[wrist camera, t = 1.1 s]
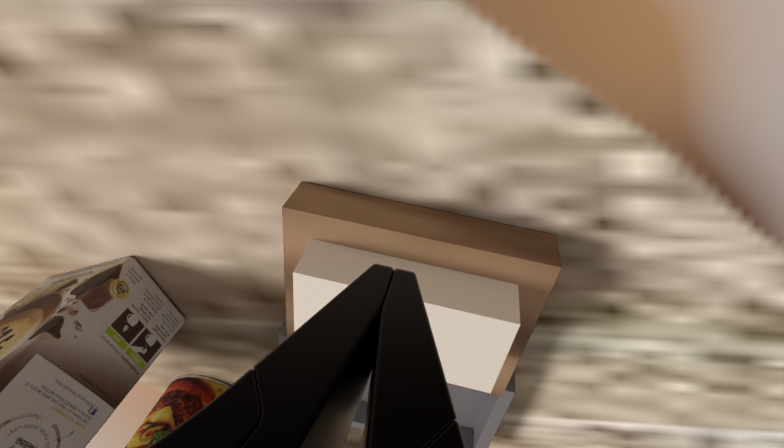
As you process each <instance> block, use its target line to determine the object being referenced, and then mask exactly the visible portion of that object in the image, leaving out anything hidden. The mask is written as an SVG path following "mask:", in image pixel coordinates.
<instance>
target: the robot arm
mask: <svg viewBox="0 0 784 448" xmlns="http://www.w3.org/2000/svg"><path fill="white" fill-rule="evenodd" d="M371 371H372V372H371ZM370 375H371V379H370V386H369V393H368V401H367V409H366V418H365V426H364V434H363V442H362V448H466V447H465V444H464V440H463V437H462V433H461V430H460V427H459V423H458V422H457V421H456V419H457V417H456V413H455V410H454V406H453V403H452V399H451V396H450V392H449V389H448V385H447V382H446V378H445V375H444V371H443V368H442V364H441V361H440V357H439V354H438V350H437V347H436V343H435V340H434V337H433V333H432V330H431V326H430V323H429V319H428V316H427V312H426V309H425V305H424V302H423V298H422V295H421V291H420V288H419V284H418V281H417V277H416V274H415V273H414V272H412V271H408V270H403V269H399V268H397V269H395V270H394V269H393V268H392V267H390V266H385V265H381V264H373V265H372V266H371V267H369V268H368V269H367V270H366V271H365V272H364V273H362V274H361V275H360V276H359V277H358V278H357V279H355V280H354V281H353V282H352V283H351V284H350V285H348V286H347V287H346V288H345V289H344V290H343V291H341V292H340V293H339V294H338V295H337V296H336V297H334V298H333V299H332V300H331V301H330V302H329V303H327V304H326V305H325V306H324V307H323V308H322V309H320V310H319V311H318V312H317V313H316V314H315V315H313V316H312V317H311V318H310V319H309V320H308V321H306V322H305V323H304V324H303V325H302V326H301V327H299V328H298V329H297V330H296V331H295V332H294V333H292V334H291V335H290V336H289V337H288V338H287V339H285V340H284V341H283V342H282V343H281V344H280V345H278V346H277V347H276V348H275V349H274V350H273V351H271V352H270V353H269V354H268V355H267V356H265V357H264V358H263V359H262V360H261V361H260V362H258V363H257V364H256V365H255V366H254V370H252V369H250V370H249V371H248V372H246V373H245V374H244V375H243V376H242V377H241V378H240V379H238V380H237V381H236V382H235V383H234V384H233V385H231V386H230V387H229V388H228V389H226V390H225V391H224V392H223V393H221V394H220V395H219V396H218V397H216V398H215V399H214V400H213V401H212V402H210V403H209V404H208V405H207V406H205V407H204V408H202V409H201V410H200V411H198V412H197V413H196V414H194V415H193V416H191V417H190V418H189V419H187V420H186V421H185V422H183V423H182V424H180V425H179V426H178V427H176V428H175V429H174V430H172V431H171V432H169V433H168V434H166V435H165V436H163V437H162V438H161V439H159V440H158V441H156V442H155V443H153V444H152V445H151V446H149V447H148V448H342V447H343V445H344V442H345V440H346V437H347V435H348V432H349V429H350V427H351V424H352V422H353V419H354V417H355V414H356V412H357V409H358V406H359V404H360V401H361V399H362V396H363V394H364V391H365V389H366V386H367V383H368V380H369V378H370Z"/></svg>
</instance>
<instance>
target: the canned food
mask: <svg viewBox="0 0 784 448" xmlns="http://www.w3.org/2000/svg"><path fill="white" fill-rule="evenodd" d="M229 387H230V386H228V385H226V384H225V383H223V382H220V381H218V380H215V379H212V378H209V377H204V376H200V375H185V376H180V377H178V378H176V379H174V380H173V381H172V382H171V384H170V385H169V387H168V388H167V389H166V391H165V392H164V394H163V395H162V397H161V398H160V399H159V401H158V402H157V403H156V405H155V406H154V408H153V409H152V411H151V412H150V413H149V415H148V416H147V418H146V419H145V420H144V422H143V424H142V425H141V426H140V427H139V429H138V430H137V432H136V433H135V434H134V436H133V437H132V439H131V440H130V442H129V443H128V444H127V446H126V447H125V448H148V447H149V446H151V445H152V444H153V443H155V442H156V441H158V440H159V439H161V438H162V437H163V436H165V435H166V434H168V433H169V432H171V431H172V430H174V429H175V428H176V427H178V426H179V425H180V424H182V423H183V422H185V421H186V420H187V419H189V418H190V417H191V416H193V415H194V414H196V413H197V412H198V411H200V410H201V409H202V408H204V407H205V406H207V405H208V404H209V403H210V402H212V401H213V400H214V399H215V398H216V397H218V396H219V395H220V394H221V393H223V392H224V391H225V390H226V389H228V388H229Z"/></svg>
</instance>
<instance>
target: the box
mask: <svg viewBox="0 0 784 448" xmlns="http://www.w3.org/2000/svg"><path fill="white" fill-rule="evenodd" d="M285 339H287V327H286V320H285V322H284V324H283V326H282V328H281V330H280V332H279V334H278V345H280V344H281V343H282V342H283V341H284V340H285ZM371 372H372V371H371ZM370 379H371V375H370V378H369V380H368V383H367V386H366V389H365V391H364V394H363V396H362V399H361V401H360V404H359V406H358V409H357V412H356V414H355V417H354V419H353V422H352V424H351V427H354V428H357V429H361V430H364V426H365V418H366V409H367V401H368V393H369V386H370ZM447 385H448V389H449V392H450V396H451V399H452V403H453V406H454V410H455V413H456V417H457V419H456V421H457V422H458V423H459V427H460V430H461V433H462V437H463V440H464V444H465V447H466V448H488V447H489V445H490V443H491V441H492V439H493V437H494V435H495V433H496V431H497V429H498V427H499V425H500V423H501V421H502V419H503V417H504V415H505V413H506V411H507V409H508V407H509V405H510V403H511V401H512V399H513V397H514V395H515V372H513V374H512V376H511V378H510V380H509V382H508V385H507V387H506V389H505V391H504V393H503V395H502V397H500V396H496V395H492V394H488V393H483V392H479V391H475V390H471V389H467V388H463V387H459V386H455V385H451V384H447Z"/></svg>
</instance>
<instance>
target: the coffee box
mask: <svg viewBox="0 0 784 448" xmlns="http://www.w3.org/2000/svg"><path fill="white" fill-rule="evenodd" d="M184 323H185V319H184V317H183V316H182V315H181V314H180V312H179V311H178V310H177V309H176V308H175V307H174V305H173V304H172V303H171V302H170V300H169V299H168V298H167V297H166V296H165V294H164V293H163V292H162V291H161V290H160V289H159V287H158V286H157V285H156V284H155V282H154V281H153V280H152V279H151V278H150V276H149V275H148V274H147V273H146V272H145V270H144V269H143V268H142V267H141V265H140V264H139V263H138V262H137V260H136V259H135V258H133V257H125V258H121V259H117V260H114V261H110V262H106V263H102V264H99V265H95V266H91V267H87V268H83V269H80V270H76V271H72V272H68V273H64V274H60V275H57V276H53V277H49V278H47V279H46V280H45V281H43V282H42V283H41V284H39V285H38V286H37V287H36V288H34V289H33V290H32V291H30V292H29V293H28V294H27V295H25V296H24V297H23V298H21V299H20V300H19V301H18V302H16V303H15V304H14V305H12V306H11V307H10V308H9V309H7V310H6V311H5V312H4V313H2V314H1V315H0V448H85V447H86V445H87V444H88V443H89V442H90V440H91V439H92V438H93V437H94V435H95V434H96V433H97V432H98V431H99V429H100V428H101V427H102V426H103V424H104V423H105V422H106V420H107V419H108V418H109V417H110V416H111V414H112V413H113V412H114V410H115V409H116V407H117V406H118V405H119V404H120V403H121V402H122V400H123V399H124V398H125V396H126V395H127V394H128V393H129V391H130V390H131V389H132V388H133V386H134V385H135V384H136V383H137V382H138V380H139V379H140V378H141V377H142V375H143V374H144V373H145V371H146V370H147V369H148V368H149V367H150V365H151V364H152V363H153V362H154V360H155V359H156V358H157V356H158V355H159V354H160V353H161V352H162V350H163V349H164V348H165V347H166V345H167V344H168V343H169V342H170V340H171V339H172V338H173V337H174V335H175V334H176V333H177V332H178V330H179V329H180V328H181V327H182V326H183V324H184Z"/></svg>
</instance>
